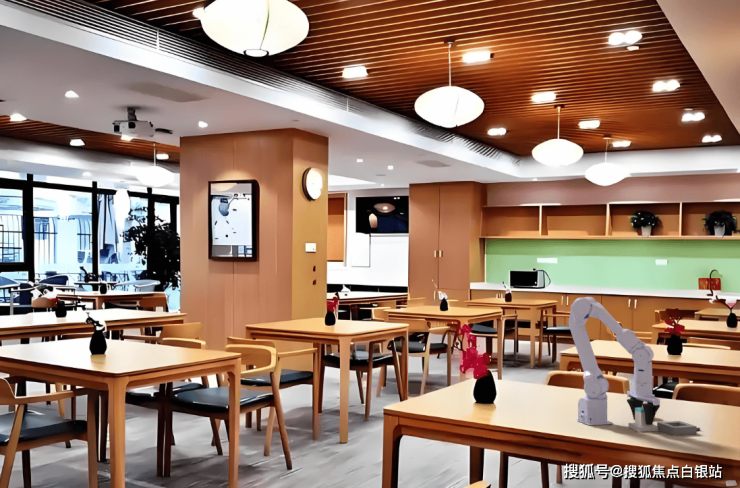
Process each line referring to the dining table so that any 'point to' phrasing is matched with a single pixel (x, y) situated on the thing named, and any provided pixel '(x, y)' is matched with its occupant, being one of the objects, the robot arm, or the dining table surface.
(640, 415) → the plug
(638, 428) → the tray
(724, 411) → the dining table surface
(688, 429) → the panel
